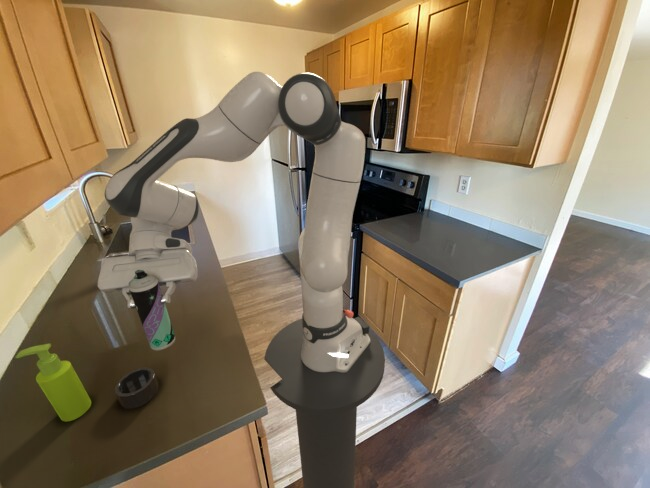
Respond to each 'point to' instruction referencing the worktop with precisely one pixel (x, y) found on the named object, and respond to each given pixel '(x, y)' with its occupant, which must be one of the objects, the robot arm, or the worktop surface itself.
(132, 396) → the dark round bowl
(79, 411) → the soap dispenser
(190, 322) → the worktop surface
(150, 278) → the spray can
